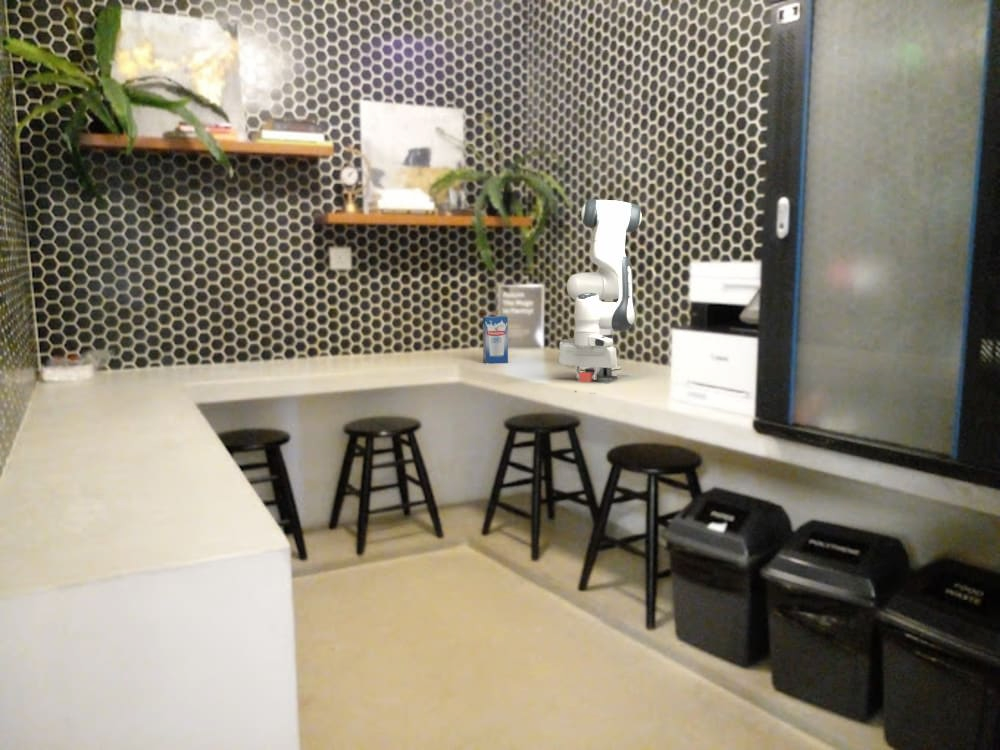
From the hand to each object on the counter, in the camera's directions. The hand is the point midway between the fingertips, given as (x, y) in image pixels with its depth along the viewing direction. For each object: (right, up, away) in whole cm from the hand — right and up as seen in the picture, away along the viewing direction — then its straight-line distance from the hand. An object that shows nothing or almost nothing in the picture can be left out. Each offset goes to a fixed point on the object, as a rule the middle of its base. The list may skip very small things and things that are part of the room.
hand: (586, 379), depth 263 cm
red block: (0, -1, 0) cm, 1 cm away
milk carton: (-32, +7, +67) cm, 75 cm away
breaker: (+3, 0, +5) cm, 6 cm away
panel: (+6, -1, +7) cm, 10 cm away
